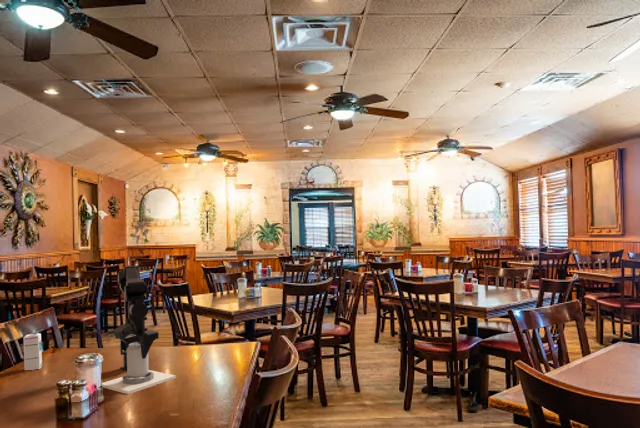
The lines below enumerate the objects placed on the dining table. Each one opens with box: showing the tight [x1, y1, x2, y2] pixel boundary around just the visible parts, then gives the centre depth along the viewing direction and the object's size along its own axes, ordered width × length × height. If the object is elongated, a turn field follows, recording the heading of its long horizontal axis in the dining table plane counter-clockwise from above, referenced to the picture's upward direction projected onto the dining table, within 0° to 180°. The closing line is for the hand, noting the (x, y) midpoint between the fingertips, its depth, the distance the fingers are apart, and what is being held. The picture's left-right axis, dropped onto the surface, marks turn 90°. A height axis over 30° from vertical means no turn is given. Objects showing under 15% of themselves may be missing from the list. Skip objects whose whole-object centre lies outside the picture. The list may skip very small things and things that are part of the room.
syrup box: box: [23, 332, 43, 371], centre depth 203 cm, size 6×6×14 cm
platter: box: [101, 369, 177, 395], centre depth 177 cm, size 18×20×2 cm
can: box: [126, 342, 150, 378], centre depth 177 cm, size 8×8×12 cm
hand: (137, 357), depth 177 cm, fingers closed on can, 7 cm apart
